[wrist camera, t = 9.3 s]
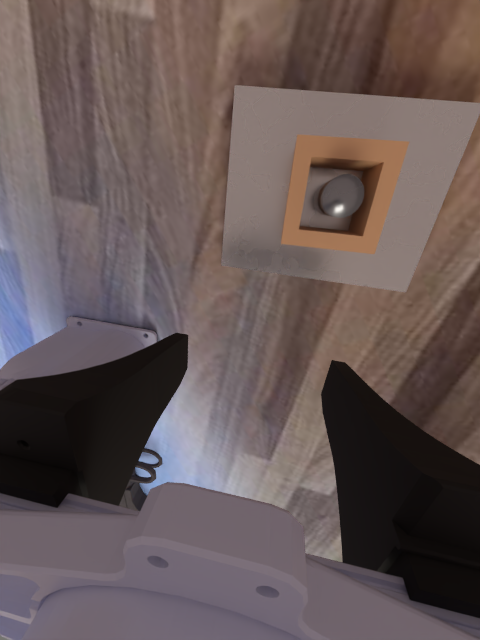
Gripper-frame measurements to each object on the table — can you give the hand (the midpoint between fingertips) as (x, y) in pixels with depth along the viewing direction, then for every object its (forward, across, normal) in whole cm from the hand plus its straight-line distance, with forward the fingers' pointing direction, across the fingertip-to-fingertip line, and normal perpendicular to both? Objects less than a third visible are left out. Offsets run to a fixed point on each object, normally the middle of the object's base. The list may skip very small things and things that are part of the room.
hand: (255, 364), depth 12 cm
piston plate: (+10, -3, -8) cm, 13 cm away
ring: (+9, -3, -8) cm, 12 cm away
